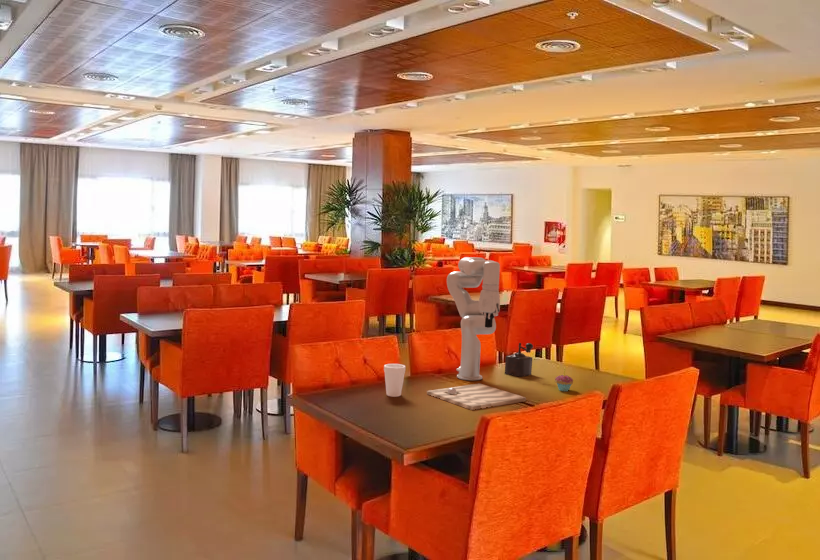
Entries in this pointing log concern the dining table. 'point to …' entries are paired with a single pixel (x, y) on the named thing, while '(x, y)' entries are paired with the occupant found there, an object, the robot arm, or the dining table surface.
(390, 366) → the foam cup
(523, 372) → the coffee grinder
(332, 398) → the dining table surface
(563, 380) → the cupcake
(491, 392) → the maple board
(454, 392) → the steel ball
